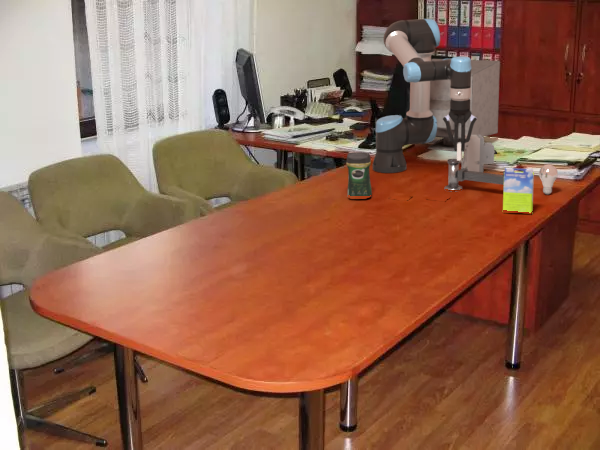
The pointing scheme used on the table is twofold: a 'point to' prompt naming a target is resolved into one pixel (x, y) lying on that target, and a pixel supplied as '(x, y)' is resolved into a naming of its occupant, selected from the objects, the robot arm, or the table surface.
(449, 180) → the post
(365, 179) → the coffee jar
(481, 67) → the crt monitor
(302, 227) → the table surface
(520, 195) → the box
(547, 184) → the light bulb
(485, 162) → the circuit breaker
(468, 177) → the swing bar
